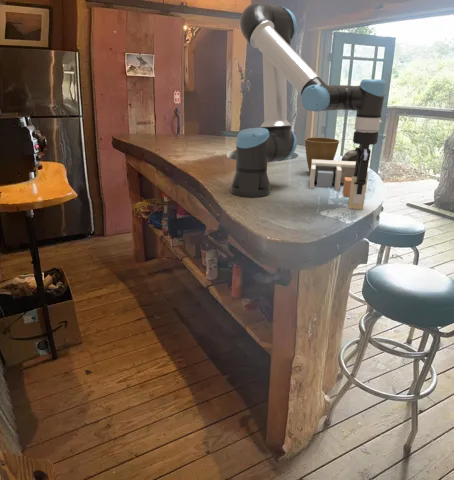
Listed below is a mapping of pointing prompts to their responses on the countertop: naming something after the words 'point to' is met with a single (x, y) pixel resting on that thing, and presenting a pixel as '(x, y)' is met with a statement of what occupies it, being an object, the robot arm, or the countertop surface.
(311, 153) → the plant pot
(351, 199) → the corded block
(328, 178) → the slate block
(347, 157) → the alarm clock
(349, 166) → the shelf lanes
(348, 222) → the countertop surface
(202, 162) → the countertop surface
